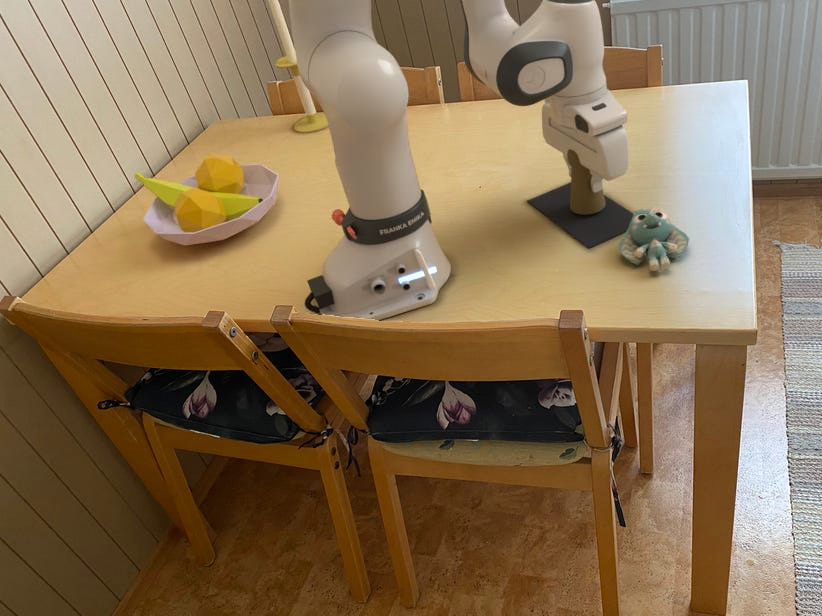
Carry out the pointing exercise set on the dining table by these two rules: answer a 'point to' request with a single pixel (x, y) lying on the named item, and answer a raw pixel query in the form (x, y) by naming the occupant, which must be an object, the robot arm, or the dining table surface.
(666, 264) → the stuffed animal
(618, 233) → the mat
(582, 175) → the cork
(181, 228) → the fruit bowl
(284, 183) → the dining table surface
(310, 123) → the candle
